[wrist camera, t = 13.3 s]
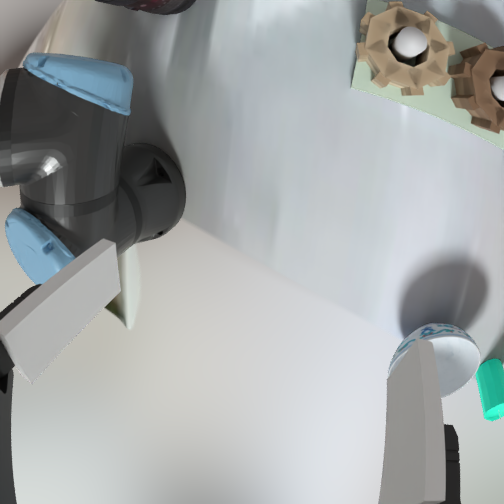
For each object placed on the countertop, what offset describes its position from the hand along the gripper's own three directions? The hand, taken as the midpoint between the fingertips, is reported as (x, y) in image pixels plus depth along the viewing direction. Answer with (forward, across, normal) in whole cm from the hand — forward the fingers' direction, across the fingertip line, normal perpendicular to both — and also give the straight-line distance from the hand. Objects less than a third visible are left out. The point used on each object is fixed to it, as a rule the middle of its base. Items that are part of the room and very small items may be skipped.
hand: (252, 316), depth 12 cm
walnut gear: (+27, +17, +16) cm, 36 cm away
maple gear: (+27, +6, +16) cm, 32 cm away
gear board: (+29, +12, +16) cm, 35 cm away
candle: (+29, +43, -25) cm, 58 cm away
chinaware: (+29, +25, -21) cm, 44 cm away
